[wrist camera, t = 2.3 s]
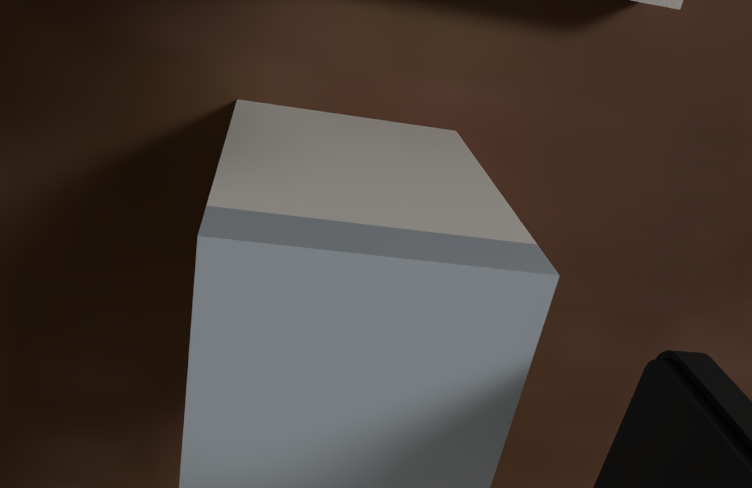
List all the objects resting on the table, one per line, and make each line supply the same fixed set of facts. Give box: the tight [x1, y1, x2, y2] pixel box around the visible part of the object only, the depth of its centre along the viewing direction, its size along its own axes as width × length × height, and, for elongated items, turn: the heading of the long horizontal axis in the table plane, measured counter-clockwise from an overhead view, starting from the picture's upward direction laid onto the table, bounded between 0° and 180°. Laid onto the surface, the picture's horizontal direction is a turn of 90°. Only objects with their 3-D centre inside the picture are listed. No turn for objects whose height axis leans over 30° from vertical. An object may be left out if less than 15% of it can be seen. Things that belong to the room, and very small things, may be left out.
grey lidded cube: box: [179, 99, 559, 488], centre depth 13 cm, size 5×5×7 cm
